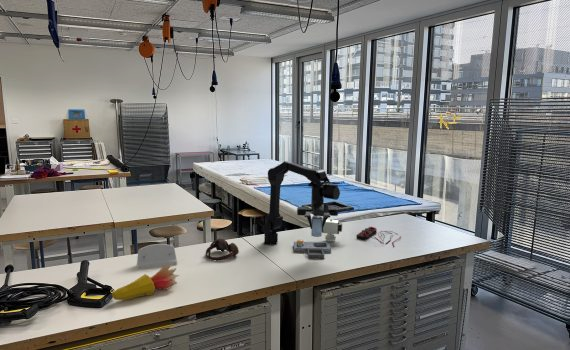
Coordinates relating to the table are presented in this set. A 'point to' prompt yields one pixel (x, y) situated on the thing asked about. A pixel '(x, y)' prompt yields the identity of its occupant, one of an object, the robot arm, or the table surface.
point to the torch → (147, 284)
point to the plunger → (299, 242)
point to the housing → (313, 246)
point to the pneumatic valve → (332, 229)
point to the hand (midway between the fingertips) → (316, 229)
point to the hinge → (156, 256)
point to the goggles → (222, 249)
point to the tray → (315, 253)
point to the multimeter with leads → (370, 232)
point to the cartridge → (316, 226)
